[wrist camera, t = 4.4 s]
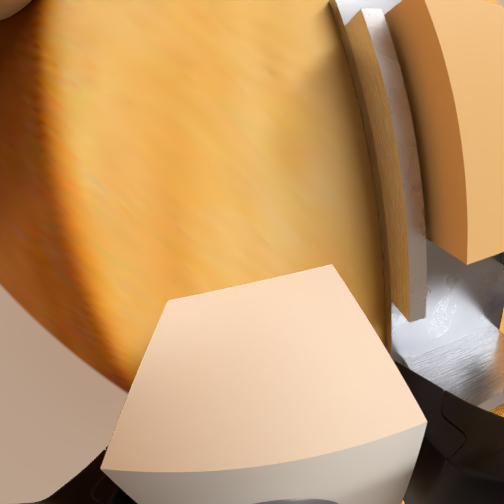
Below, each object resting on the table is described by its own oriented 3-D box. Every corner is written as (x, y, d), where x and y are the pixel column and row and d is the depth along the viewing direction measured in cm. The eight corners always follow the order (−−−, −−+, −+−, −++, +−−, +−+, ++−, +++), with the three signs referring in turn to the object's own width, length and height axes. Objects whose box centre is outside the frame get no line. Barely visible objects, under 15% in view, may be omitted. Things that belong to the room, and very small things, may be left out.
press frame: (488, 343, 20) (534, 393, 13) (385, 385, 20) (419, 455, 14) (467, 11, 12) (536, -16, 5) (328, 1, 12) (373, -66, 6)
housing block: (345, 384, 11) (393, 524, 5) (215, 410, 11) (204, 553, 5) (332, 264, 9) (429, 424, 3) (168, 300, 9) (99, 470, 4)
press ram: (500, 207, 15) (555, 231, 10) (412, 230, 15) (466, 264, 11) (471, 31, 11) (526, 14, 7) (372, 24, 12) (419, -13, 7)
